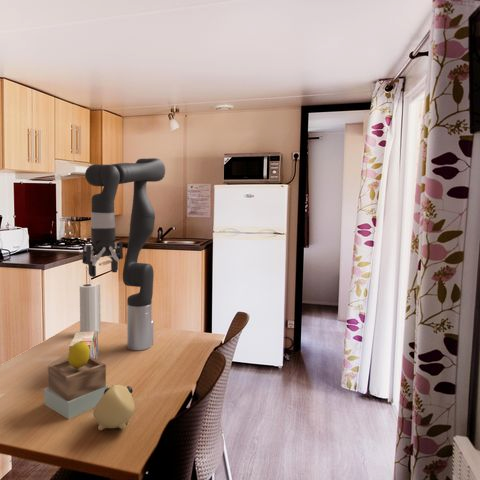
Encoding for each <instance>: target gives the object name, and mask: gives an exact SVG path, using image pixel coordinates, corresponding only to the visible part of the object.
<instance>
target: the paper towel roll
mask: <svg viewBox="0 0 480 480" xmlns="http://www.w3.org/2000/svg"><path fill="white" fill-rule="evenodd" d="M101 324H102V323H101V284H96V285H95V284H92V283H85V284H84V283H83V284H80V285H79V329H80V330H79V332H89V331H98V334H99V333H101V332H102V331H101V326H102V325H101Z"/></svg>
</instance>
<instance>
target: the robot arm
mask: <svg viewBox="0 0 480 480" xmlns="http://www.w3.org/2000/svg"><path fill="white" fill-rule="evenodd" d="M165 175H166V166H165V164H164V162H163V161H162V160H161V159H160V158H154V157H153V158H151V157H150V158H139V159H137V160H136V161H135V162H134V163H133V162H119V163H114V164H113V163H112V164H101V163H99V164H91V165H90V166H89V165H88V167H87V168H86V170H85V174H84V176H85V180H86V181H87V183H88V184H89V185H90V186H93V187H102V191H101V192H100V193H96V194H95V193H94V194H93V195H92V196H91V216H90V238H91V245H86V244H85V245H83V246H82V262H81V263H82V264H83V265H87V266H88V275H89V276H90V277H92V278H94V277H97V267H96V264H97V262H98V261H99V260H100V259H101V258H105V257H108V258H109V259H110V260H111V261H110V264H111V266H110V271H111V273H113V274H114V273H117V272H118V270H119V261H120V260H122V259H123V258H124V254H123V253H124V251H123V248H124V247H123V242H122V241H116V215H115V199H116V195H117V191H118V188H119V185H121V184H128V183H133V195H132V197H133V198H132V207H131V215H130V222H129V233H128V243H127V249H126V254H125V259H124V263H123V268H122V282H123V284H124V285H125V286H127V287H136V288H139V292H138V293H135V294H131V295H129V296H128V297H127V301H126V302H127V303H126V306H127V309H126V311H127V312H126V313H127V314H126V315H127V316H126V317H127V318H126V319H127V320H126V322H127V323H126V324H127V325H126V326H127V329H126V330H127V334H126V335H127V341H126V342H127V349H128V350H131V351H144V350H148V349H149V348H152V346H153V345H154V320H152V319H153V318H152V317H153V316H152V313H153V312H152V309H153V308H152V307H153V304H152V302H153V292H154V278H155V277H154V274H155V273H154V272H155V271H154V267H153V265H151V263H143V262H138V261H139V255H140V252H141V251H142V249H143V247H144V245H145V244H146V243H147V242H148V240H149V239H150V237H152V234H153V232H154V229H155V222H156V221H155V220H156V214H155V210H154V207H153V206H152V203H151V201H150V200H149V197H148V195H147V183H148V182H149V183H151V182H152V183H154V182H161V181H162V180H163V179H164V178H165Z"/></svg>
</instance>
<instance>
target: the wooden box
mask: <svg viewBox="0 0 480 480" xmlns="http://www.w3.org/2000/svg"><path fill="white" fill-rule="evenodd" d="M106 366H107V364H106V363H104V362H102V361H100V360H98V359H97V360H96V359H94V358H92V357H90V356H89V359H88V362H87V363H86V364H85V365H84V366H82V367H80V368H79V369H77V370H76V369H75V368H74V367H73V366H71V365H70V364H69V361H68V358H67V359H63V360H62V361H59V362H55V363H52V364H49V365H48V366H47V369H48V371H47V372H48V375H47V377H48V378H47V379H48V387H49V388H50V389H51V390H53V391H54V392H55V393H57V394H58V395H60V396H61V397H62V398H64V399H65V400H67V401H71V400H73V399H76V398H78V397H81V396H83V395H86V394H88V393H91V392H93V391H96V390H98V389H101V388H103V387H106V385H107V380H106V379H107V378H106V377H107V373H106V372H107V367H106Z"/></svg>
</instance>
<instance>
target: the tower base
mask: <svg viewBox="0 0 480 480" xmlns="http://www.w3.org/2000/svg"><path fill="white" fill-rule="evenodd" d="M107 388H109V384H106V387H103V388H101V389H98V390H96V391H93V392H91V393H88V394H86V395H83V396H81V397H78V398H76V399H73V400H71V401H67V400H65V399H64V398H62V397H61V396H60V395H58V394H57V393H55V392H54V391H53V390H51V389H50V388H49V386H48V387H46V388H44V389H43V390H44V392H43V395H44V397H43V398H44V405H45V406H47V407H48V408H49V409H51V410H53V411H55V412H56V413H58V414H60V415H62V416H63V417H65V419H67V420H70V419H72V417H73V418H74V416H75V417H76V416H78V414H79V415H80V414H83V413H85V412H87V411H89V410H91V409H93V408H95V406H96V405H97V403H98V402H99V400H100V399H101V398H102V396H103V395H104V391H105V390H106V389H107Z"/></svg>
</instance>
